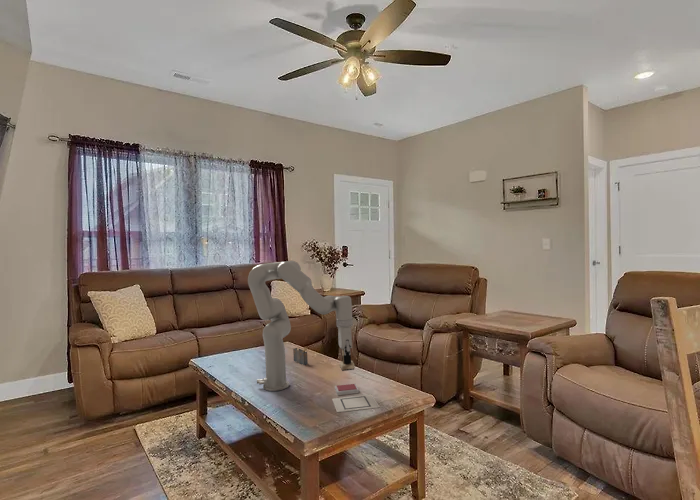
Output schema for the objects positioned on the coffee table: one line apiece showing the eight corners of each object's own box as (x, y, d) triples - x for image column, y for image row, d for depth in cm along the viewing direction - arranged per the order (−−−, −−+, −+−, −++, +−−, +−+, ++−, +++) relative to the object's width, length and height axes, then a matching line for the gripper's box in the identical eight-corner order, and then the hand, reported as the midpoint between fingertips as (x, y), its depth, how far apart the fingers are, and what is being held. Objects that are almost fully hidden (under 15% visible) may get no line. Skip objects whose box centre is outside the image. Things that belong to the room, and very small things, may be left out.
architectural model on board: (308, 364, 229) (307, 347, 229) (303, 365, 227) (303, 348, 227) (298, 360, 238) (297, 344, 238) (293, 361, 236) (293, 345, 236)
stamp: (341, 371, 182) (340, 350, 182) (339, 367, 188) (338, 347, 188) (354, 369, 183) (353, 348, 183) (352, 365, 189) (351, 345, 189)
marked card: (336, 412, 163) (336, 411, 163) (332, 399, 177) (332, 398, 177) (379, 407, 166) (379, 406, 166) (371, 395, 180) (371, 394, 180)
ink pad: (337, 395, 181) (337, 391, 181) (334, 388, 189) (334, 385, 189) (359, 392, 183) (358, 389, 183) (355, 386, 191) (355, 383, 191)
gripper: (333, 320, 193) (336, 358, 193) (339, 327, 176) (341, 368, 177) (349, 319, 194) (351, 356, 194) (356, 325, 178) (358, 366, 178)
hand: (346, 361), depth 186 cm, fingers closed on stamp, 3 cm apart
